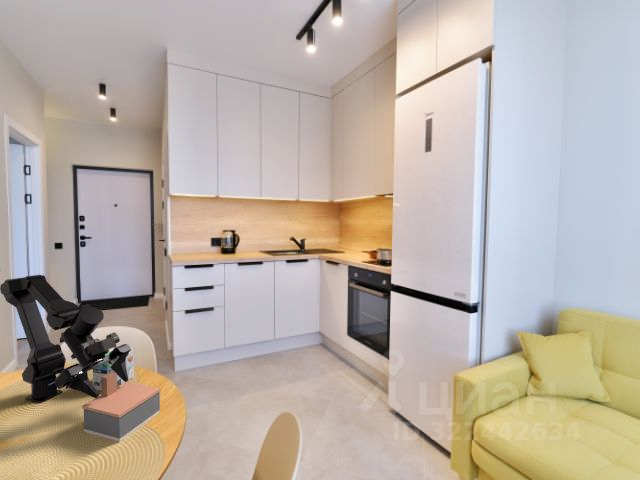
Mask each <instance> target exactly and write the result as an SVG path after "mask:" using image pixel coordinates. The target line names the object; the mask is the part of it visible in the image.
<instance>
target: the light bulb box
mask: <svg viewBox="0 0 640 480" xmlns="http://www.w3.org/2000/svg"><path fill="white" fill-rule="evenodd" d="M116 346H117V347H118V346H119V345H116ZM129 347H130V346H129ZM114 348H116V347H114ZM114 348H110V349H109V352H108V353H107V354H105V356H107V355H109V354H110V353H111V352H112V350H113V349H114ZM130 348H131V349H132V350H131V351H130V352H129V355H128V356H127V357H126V361H125V362H126V370H127V374H128V382H130V380H132V379H134V378H135V371H134V370H135V359H134V358H135V357H134V355H135V353H134V347H130ZM101 362H102V361H101ZM111 366H112V364H109V363H108V362H107V363H105V364H103V365H100V366H98V367H96V368H94V369H92V385H93V386H94V387H95V389H96V390H97V391H101V392H102V390H101V377H102V376H104V375H106V374H108V373H111V372H113V373H115V372H114V371H113V370H112V369H111V368H110V367H111ZM133 377H134V378H133ZM131 378H132V379H131ZM123 383H125V381H123V380H122V379H121V378H120V377H119V376H118V375H117V386H119V385H121V384H123Z"/></svg>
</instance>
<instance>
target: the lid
mask: <svg viewBox="0 0 640 480" xmlns="http://www.w3.org/2000/svg"><path fill="white" fill-rule="evenodd" d="M101 390H102V391H101V395H99V396H98V398H93V399H92V400H90V401H88V402H87V403H85V404H83V405H82V406H81V409H82V410H84V409H86V410H89V411H93V412H97V413H101V414H105V415H109V416H113V417H117V418H120V417H122V416H123V415H125V414H126V413H128V412H129V411H131V410H133V409H134V408H136V407H137V406H139V405H140V404H142V403H143V402H145V401H146V400H148V399H149V398H151V397H153V396H154V395H156V394H157V393H159V392H160V393H161V391H162V388H161V387H155V386H151V385H146V384H141V383H138V382H137V383H136V382H132V381H127V382H125V383H123V384H121V385H119V386H117V373H113V372H111V373H108V374H106V375H104V376H102V377H101Z"/></svg>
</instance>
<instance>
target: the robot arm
mask: <svg viewBox="0 0 640 480" xmlns="http://www.w3.org/2000/svg"><path fill="white" fill-rule="evenodd" d="M0 293H1V294H2V295H3V297H4V299H5V301H6V302H7V303H8V304H10V305H12V306H13V307H15V309H16V311H17V315H18V317H19V319H20V324H21V326H22V328H23V332H24V335H25V338H26V340H27V343H28V346H29V349H30V351H29V354H28V357H27V359H26V363H27V366H26V367H25V368H24V370H23V372H22V373H21V378H22V381H23V382H25V383H28V384H30V386H31V387H30V388H31V394H30V395H28V396H26V397H25V400H28V401H32V402H35V403H38V404H39V403H43V402H45V401H47V400H49V399H52V398H53V397H56V396H57V395H60V394H62V393H63V390H62V389H63V388H65V390H68V389H71V390H74V391H77V392H81V393H83V394H85V395H87V396H89V397H91V398H93V399H95V398H98V397H99V396H100V394H99V393H98V390H96V389H95V387H94V386H93V382H91V380H90V378H89V375H88V372H89V371H93V369H94V368H96V367H98V366H100V365H103V364H105V363H107V362H108V363H109V364H112V366H111V367H110V368H111V369H112V370H113V371H114V372H115V373H117V375H118V376H119V377H120V378H121V379H122V380H123V381H125V382H127V381H128V374H127V370H126V362H125V361H126V357H127V356H128V355H129V352H130V351H131V350H132V349H131V348H132V347H131V348H130V345H129V344H127V343H123V344H121V345H117V344H118V343H120V340H121V339H120V336H119V335H118V334H117V333H116V332H112V333H109V334H107V335H106V337H105V338H104V339H101V340H100V338H98V337H97V338H95V339H94V337H93V335H92V334H93V333H95V331H96V329H97V328H98V327H99V325H100V324H101V323H102V321H103V320H104V318H105V317H104V316H105V315H104V312H103V311H102V310H100V309H99V308H97V307H94V306H91V305H90V304H88V303H87V304H83V305H81V306H79V305H78V304H76V302H75V303H74V302H73V301H69V300H66V299H64V298H63V297H62V295H60V294H59V293H58V292H57V291H56V290H55V289H54V287H53V286H52V285H51V284H50V283H49V281H48V280H47V277H46V275H44V274H36V275H35V274H34V275H26V276H24V277H18V278H10V279H9V278H8V279H5V280H4V282H3V283H1V284H0ZM37 302H38V304H39V305H40V306H41V307H42V308H43V309H44V310H45V312H46V313H47V314H46V318H45V319H46V321H47V324H48V326H49V327H50V328H51V329H52V330H54V331H59V330H64V329H65V330H64V331H63V332H61V333H60V338H59V344H58V343H57V344H54V343H52V342H51V340H50V338H49V335H48V332H47V328H46V327H45V326H46V325H45V322H44V321H43V317H42V315H41V312H40V309H39V306H38V304H37ZM62 343H65V344H66V346H67V347H68V349H69V351H70V352H71V353H72V354H71V355H70V358H71V360H75V359H76V361H77V362H78V363H74V364H72V365H70V366H67V367H65V366H66V360H67V359H66V357H65V354H64V352H63V350H62V347H61V345H60V344H62ZM117 346H118V347H117ZM114 347H116V348H114ZM112 348H114V349H113V350H112V352H111V353H110V354H109V355H107V356H105V354H107V353H108V352H109V350H110V349H112ZM101 361H102V362H101ZM128 382H129V381H128Z"/></svg>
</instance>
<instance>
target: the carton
mask: <svg viewBox="0 0 640 480" xmlns="http://www.w3.org/2000/svg"><path fill="white" fill-rule="evenodd" d="M160 394H161V391H160V392H159V393H157V394H156V395H154V396H153V397H151V398H149V399H148V400H146V401H145V402H143V403H142V404H140V405H139V406H137V407H136V408H134V409H133V410H131V411H129V412H128V413H126V414H125V415H123V416H122V417H120V418H117V417H113V416H109V415H105V414H101V413H97V412H93V411H89V410H86V409H83V432H84V433H87V434H91V435H95V436H98V437H101V438H105V439H109V440H111V441H115V442H118V443H119V442H120V443H121V442H122V441H123V440H124V439H126V438H127V437H129V436H130V435H131V434H133V433H134V432H136V431H137V430H139V429H140V428H141V427H142V426H144V425H145V424H146V423H148V422H149V421H150V420H152V419H153V418H155V417H156V416H157V415H158V414H160V412H161V399H160V398H161V395H160Z"/></svg>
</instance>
